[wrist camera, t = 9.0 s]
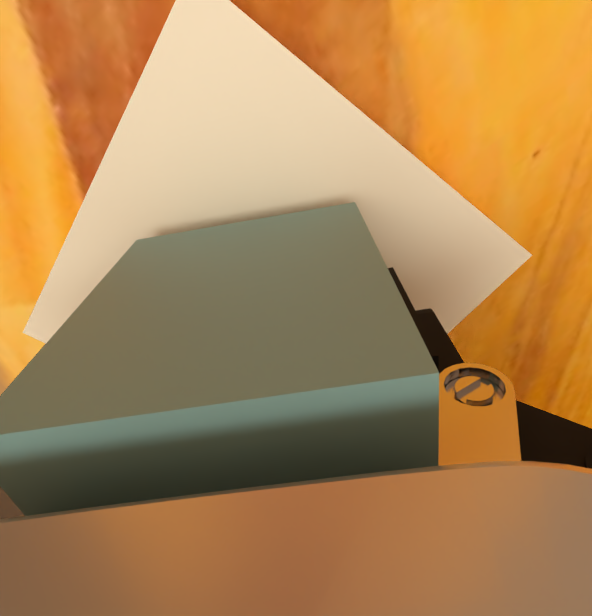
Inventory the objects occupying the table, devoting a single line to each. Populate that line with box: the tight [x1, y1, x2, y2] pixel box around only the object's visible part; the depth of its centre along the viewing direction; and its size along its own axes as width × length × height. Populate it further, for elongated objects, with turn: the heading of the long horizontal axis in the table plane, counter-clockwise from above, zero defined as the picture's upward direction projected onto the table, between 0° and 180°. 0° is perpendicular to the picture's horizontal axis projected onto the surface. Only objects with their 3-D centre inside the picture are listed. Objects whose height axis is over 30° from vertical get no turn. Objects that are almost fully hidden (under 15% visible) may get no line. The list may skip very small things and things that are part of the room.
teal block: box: [0, 202, 439, 516], centre depth 10 cm, size 6×6×7 cm
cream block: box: [23, 0, 532, 343], centre depth 15 cm, size 12×12×4 cm
